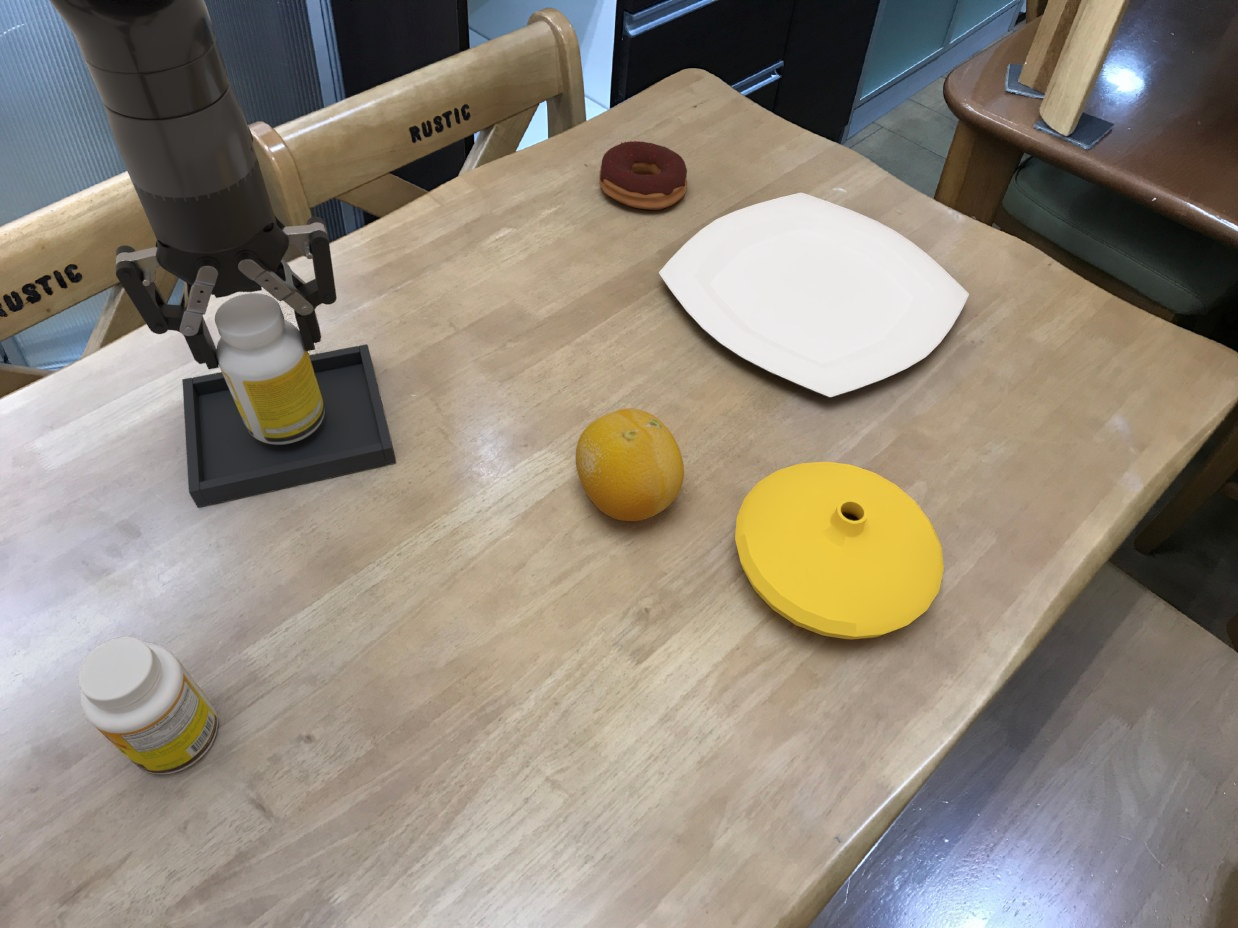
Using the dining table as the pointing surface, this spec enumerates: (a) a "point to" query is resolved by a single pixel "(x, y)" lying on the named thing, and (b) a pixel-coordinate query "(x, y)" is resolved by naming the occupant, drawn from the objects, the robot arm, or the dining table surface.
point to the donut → (643, 175)
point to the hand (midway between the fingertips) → (262, 352)
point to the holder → (247, 466)
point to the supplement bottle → (146, 704)
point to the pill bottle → (267, 370)
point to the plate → (814, 293)
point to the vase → (838, 550)
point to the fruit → (629, 464)
